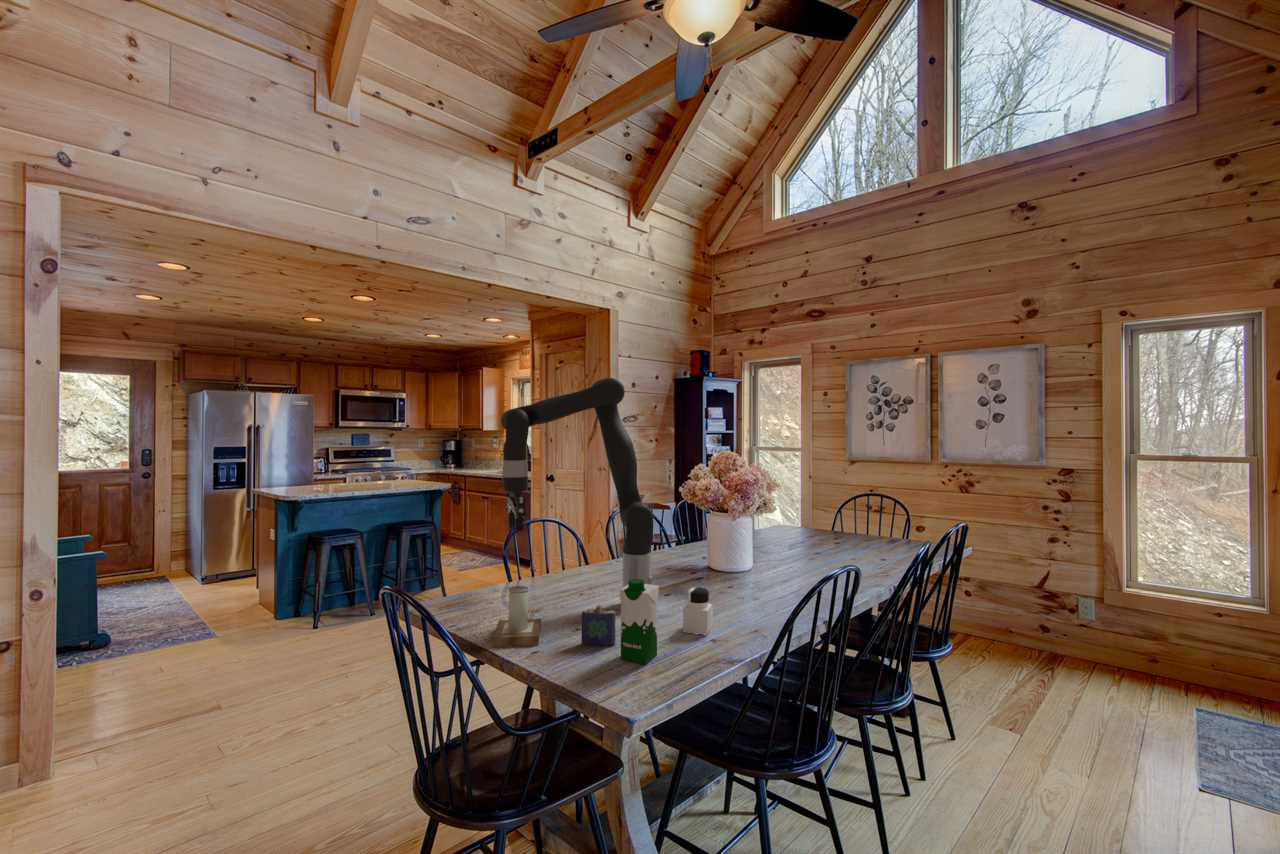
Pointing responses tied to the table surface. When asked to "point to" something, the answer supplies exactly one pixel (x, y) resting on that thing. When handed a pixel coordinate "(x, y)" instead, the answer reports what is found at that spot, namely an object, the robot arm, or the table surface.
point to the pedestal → (517, 634)
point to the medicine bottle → (698, 612)
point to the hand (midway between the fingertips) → (515, 528)
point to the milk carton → (638, 621)
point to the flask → (598, 627)
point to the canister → (518, 608)
